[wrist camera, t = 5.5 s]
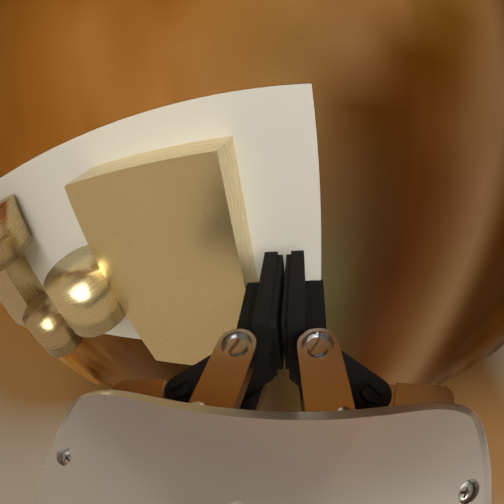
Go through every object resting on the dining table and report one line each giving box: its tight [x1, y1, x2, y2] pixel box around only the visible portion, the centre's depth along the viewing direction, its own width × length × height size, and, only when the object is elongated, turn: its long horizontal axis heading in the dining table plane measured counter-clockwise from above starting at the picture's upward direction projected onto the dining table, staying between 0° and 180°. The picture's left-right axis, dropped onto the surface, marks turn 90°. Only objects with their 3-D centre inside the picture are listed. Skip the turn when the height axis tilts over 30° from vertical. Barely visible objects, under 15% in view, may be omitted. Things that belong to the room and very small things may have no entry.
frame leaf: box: [0, 194, 83, 358], centre depth 15 cm, size 12×11×4 cm
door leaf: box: [44, 136, 258, 365], centre depth 13 cm, size 12×11×4 cm
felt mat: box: [0, 84, 321, 340], centre depth 16 cm, size 15×32×1 cm, turn 98°
